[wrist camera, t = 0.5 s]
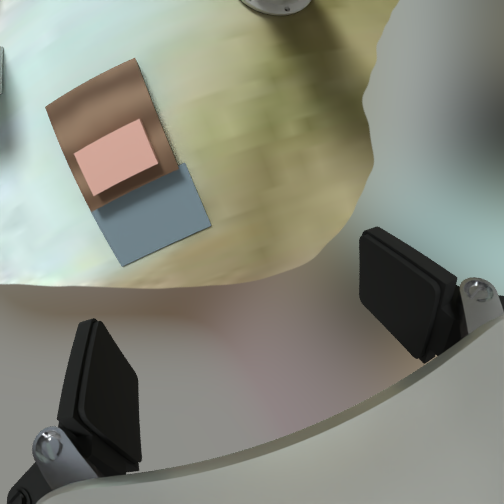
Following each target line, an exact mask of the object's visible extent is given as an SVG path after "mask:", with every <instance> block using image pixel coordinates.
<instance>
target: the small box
mask: <svg viewBox="0 0 504 504" xmlns="http://www.w3.org/2000/svg"><path fill="white" fill-rule="evenodd" d="M2 66H3V47H1V46H0V94H2Z"/></svg>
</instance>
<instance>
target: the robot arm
mask: <svg viewBox="0 0 504 504" xmlns="http://www.w3.org/2000/svg"><path fill="white" fill-rule="evenodd" d="M241 1H242V2H243V3H245V4H246V5H248V6H249V7H251V8H253V9H255V10H256V11H259V12H262V13H265V14H270V15H278V16H283V15H290V14H294V13H296V12H298V11H300V10H302V9H303V8H305V7H306V6H307V5H308V4H309V3H310V1H311V0H250V1H249V0H241ZM285 10H286V11H285ZM359 250H360V252H359V253H360V285H359V296H360V300H361V302H362V304H363V305H364V306H365V307H366V308H367V309H368V310H369V311H370V312H371V313H372V314H373V315H374V316H375V317H376V318H377V319H378V320H379V321H380V322H381V323H382V324H383V325H384V326H385V327H386V329H387V330H388V331H389V332H391V334H392V335H393V336H394V337H395V338H396V339H397V340H398V341H399V342H400V343H401V344H402V345H403V346H404V347H405V348H406V349H407V351H408V352H409V353H410V354H411V355H412V356H413V357H414V358H416V359H418V358H419V359H420V360H421V361H422V362H423V363H426V362H428V361H429V360H431V359H432V358H434V357H435V355H437V356H438V357H436V358H435V359H433V360H432V361H430V362H429V363H427V364H426V365H424V366H423V367H421V368H420V369H418V370H417V371H415V372H413V373H412V374H410V375H409V376H407V377H405V378H404V379H402V380H400V381H399V382H397V383H396V384H394V385H392V386H390V387H389V388H387V389H385V390H383V391H381V392H380V393H378V394H376V395H374V396H372V397H370V398H369V399H367V400H365V401H363V402H361V403H359V404H357V405H355V406H353V407H351V408H349V409H347V410H345V411H343V412H341V413H339V414H337V415H334V416H332V417H330V418H328V419H326V420H323V421H321V422H319V423H316V424H314V425H312V426H310V427H307V428H305V429H302V430H300V431H297V432H295V433H292V434H289V435H287V436H284V437H281V438H279V439H276V440H273V441H270V442H267V443H265V444H261V445H258V446H255V447H252V448H249V449H246V450H242V451H239V452H236V453H232V454H229V455H225V456H222V457H217V458H213V459H210V460H205V461H201V462H197V463H192V464H187V465H182V466H177V467H172V468H166V469H161V470H155V471H149V472H142V473H135V474H127V475H126V472H133V471H139V464H138V462H141V460H142V454H141V440H140V424H139V399H138V398H139V397H138V378H137V375H136V373H135V371H134V370H133V368H132V367H131V366H130V364H129V363H128V361H127V360H126V358H125V357H124V355H123V354H122V352H121V351H120V349H119V348H118V346H117V345H116V343H115V342H114V340H113V338H112V337H111V335H110V334H109V332H108V330H107V329H106V327H105V326H104V324H103V323H102V322H101V321H97V320H96V319H94V318H93V319H90V320H86V321H83V322H80V323H79V325H78V328H77V332H76V336H75V340H74V342H73V346H72V350H71V354H70V358H69V362H68V367H67V370H66V375H65V379H64V384H63V389H62V394H61V399H60V404H59V410H58V415H57V420H58V421H59V425H58V427H56V426H50V427H47V428H45V429H43V430H42V431H40V432H39V434H38V435H37V436H36V438H35V440H34V442H33V446H32V454H33V457H34V460H35V463H34V464H33V465H32V467H31V468H30V469H29V470H28V471H27V472H26V473H25V474H24V475H23V476H22V477H21V478H20V479H19V480H18V482H17V483H16V484H15V485H14V486H13V487H12V488H11V490H10V491H9V493H8V497H7V504H504V296H499V295H498V294H497V291H496V289H495V287H494V286H493V285H492V284H491V283H490V282H488V281H486V280H484V279H481V278H475V277H473V278H468V279H465V280H464V281H462V282H461V284H460V287H459V286H457V285H456V282H457V277H456V276H454V275H453V274H451V273H450V272H449V271H447V270H446V269H444V268H443V267H441V266H440V265H438V264H437V263H435V262H434V261H432V260H431V259H429V258H428V257H426V256H424V255H423V254H422V253H420V252H418V251H417V250H415V249H414V248H412V247H411V246H409V245H408V244H406V243H404V242H403V241H401V240H400V239H398V238H396V237H395V236H393V235H391V234H390V233H388V232H386V231H385V230H383V229H381V228H380V227H374V228H371V229H368V230H365V231H364V232H363V234H362V236H361V237H360V240H359Z"/></svg>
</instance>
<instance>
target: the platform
mask: <svg viewBox="0 0 504 504" xmlns="http://www.w3.org/2000/svg"><path fill="white" fill-rule="evenodd" d="M45 108H46V111H47V113H48V116H49V119H50V121H51V124H52V127H53V129H54V132H55V134H56V137H57V139H58V142H59V144H60V146H61V149H62V151H63V153H64V156H65V158H66V160H67V163H68V165H69V167H70V169H71V171H72V174H73V176H74V178H75V180H76V182H77V184H78V186H79V188H80V190H81V193H82V195H83V197H84V199H85V201H86V203H87V205H88V206H89V208H90V210H91V212H93V211H94V210H96V209H98V208H100V207H102V206H104V205H106V204H107V203H109V202H111V201H113V200H115V199H117V198H119V197H121V196H123V195H125V194H127V193H129V192H131V191H133V190H135V189H137V188H139V187H141V186H143V185H145V184H147V183H149V182H151V181H154V180H156V179H158V178H160V177H162V176H164V175H167V174H169V173H171V172H173V171H175V170H178V169H179V167H178V164H177V162H176V159H175V157H174V154H173V152H172V149H171V147H170V145H169V142H168V140H167V137H166V135H165V132H164V130H163V127H162V125H161V122H160V120H159V117H158V115H157V112H156V110H155V107H154V105H153V102H152V100H151V97H150V95H149V92H148V89H147V87H146V84H145V82H144V79H143V76H142V74H141V71H140V68H139V66H138V63H137V61H136V59H135V58H133V59H131V60H129V61H127V62H124V63H122V64H120V65H118V66H116V67H114V68H112V69H110V70H108V71H106V72H104V73H102V74H100V75H98V76H96V77H94V78H92V79H90V80H89V81H87V82H85V83H83V84H81V85H80V86H78V87H76V88H75V89H73V90H71V91H70V92H68V93H66V94H65V95H63V96H61V97H60V98H58V99H57V100H55V101H54V102H52V103H50V104H49V105H47V106H46V107H45ZM138 119H141V121H142V123H143V126H144V128H145V130H146V133H147V135H148V138H149V140H150V142H151V145H152V147H153V150H154V152H155V154H156V157H157V159H158V164H156V165H154V166H152V167H150V168H147V169H145V170H143V171H141V172H139V173H137V174H135V175H133V176H131V177H129V178H127V179H125V180H123V181H121V182H119V183H117V184H115V185H113V186H111V187H110V188H108V189H106V190H104V191H102V192H100V193H98V194H97V195H95V196H93V194H92V192H91V190H90V188H89V186H88V184H87V181H86V179H85V177H84V175H83V173H82V171H81V169H80V166H79V164H78V162H77V160H76V157H75V155H74V153H76V152H77V151H79V150H81V149H83V148H84V147H86V146H88V145H89V144H91V143H93V142H95V141H97V140H98V139H100V138H102V137H104V136H106V135H108V134H110V133H112V132H113V131H115V130H117V129H119V128H121V127H123V126H125V125H127V124H129V123H131V122H134V121H136V120H138Z"/></svg>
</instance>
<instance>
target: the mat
mask: <svg viewBox="0 0 504 504" xmlns="http://www.w3.org/2000/svg"><path fill="white" fill-rule="evenodd" d="M178 167H179V169H178V170H175V171H173V172H171V173H169V174H167V175H164V176H162V177H160V178H158V179H156V180H154V181H151V182H149V183H147V184H145V185H143V186H141V187H139V188H137V189H135V190H133V191H131V192H129V193H127V194H125V195H123V196H121V197H119V198H117V199H115V200H113V201H111V202H109V203H107V204H106V205H104V206H102V207H100V208H98V209H96V210H94V211H93V212H91V213H92V215H93V216H94V218H95V220H96V222H97V224H98V226H99V228H100V229H101V231H102V233H103V235H104V237H105V239H106V240H107V242H108V244H109V246H110V247H111V249H112V251H113V252H114V254H115V256H116V258H117V259H118V261H119V263H120V264H121V266H124V265H126V264H128V263H131V262H133V261H135V260H137V259H139V258H141V257H143V256H145V255H148V254H150V253H152V252H154V251H156V250H158V249H160V248H163V247H165V246H167V245H169V244H171V243H174V242H176V241H178V240H180V239H182V238H185V237H187V236H189V235H191V234H194V233H196V232H198V231H200V230H203V229H205V228H207V227H209V226H211V224H210V221H209V219H208V216H207V214H206V212H205V209H204V207H203V205H202V202H201V200H200V198H199V195H198V193H197V191H196V188H195V186H194V183H193V181H192V179H191V176H190V174H189V171H188V169H187V166H186V164H185V163H183V164H180V165H178ZM90 211H91V210H90Z"/></svg>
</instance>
